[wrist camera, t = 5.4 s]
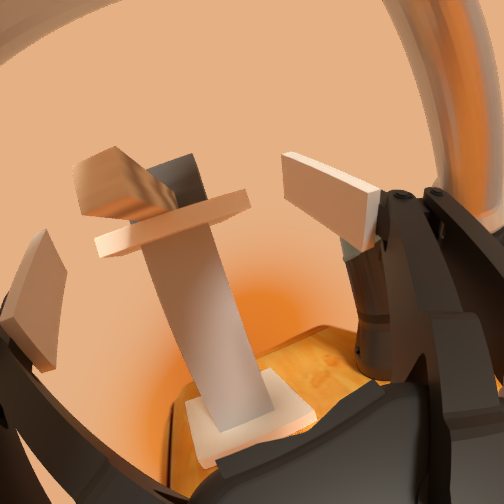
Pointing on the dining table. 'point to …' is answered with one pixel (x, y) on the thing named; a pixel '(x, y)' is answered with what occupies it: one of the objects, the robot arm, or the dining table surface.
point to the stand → (210, 330)
